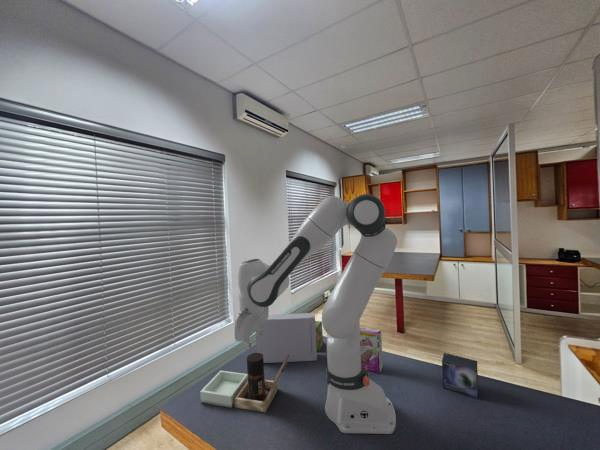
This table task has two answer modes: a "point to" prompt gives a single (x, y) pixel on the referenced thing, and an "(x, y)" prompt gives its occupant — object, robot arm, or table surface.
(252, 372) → the deodorant
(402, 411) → the table surface
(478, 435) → the table surface
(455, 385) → the small box
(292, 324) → the game console
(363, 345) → the candy bar box
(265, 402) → the beige flat board
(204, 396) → the tray
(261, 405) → the frame
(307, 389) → the table surface
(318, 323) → the chalk box
